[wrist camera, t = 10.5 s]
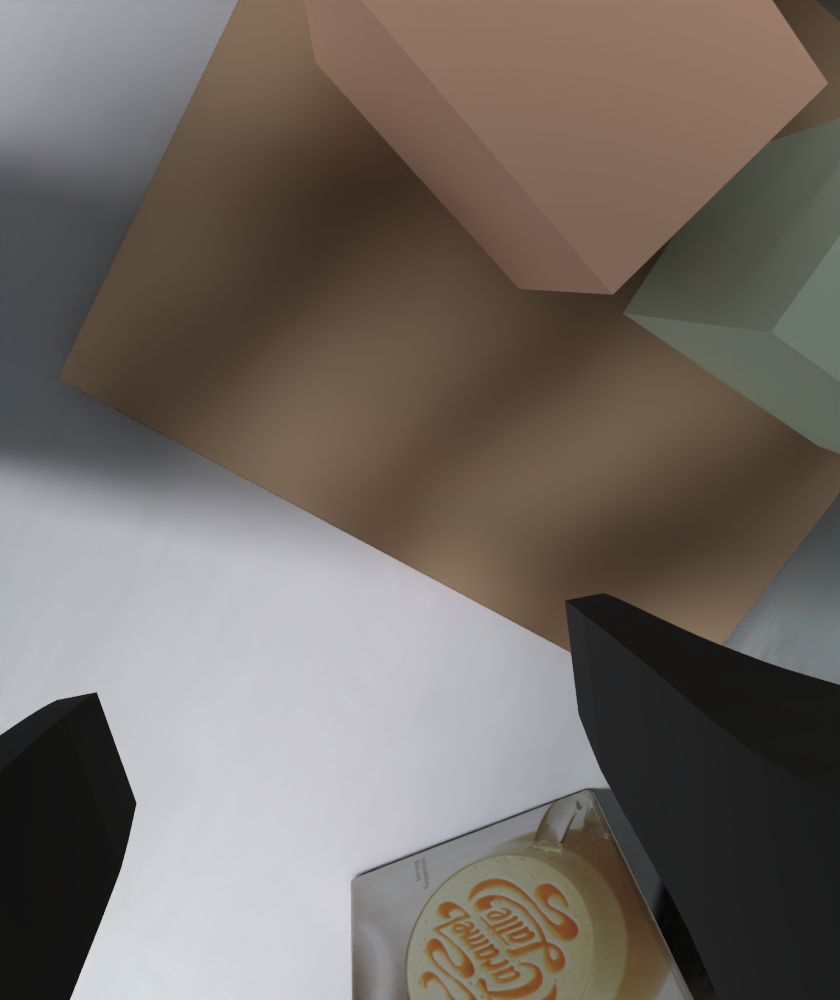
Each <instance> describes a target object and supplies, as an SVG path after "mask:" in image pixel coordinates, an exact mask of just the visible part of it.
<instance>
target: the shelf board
mask: <svg viewBox="0 0 840 1000" xmlns="http://www.w3.org/2000/svg"><path fill="white" fill-rule="evenodd" d="M772 1H773V2H774V3H775V5H776V6H777V8H778V9H779V11H780V12H781V14H782V15H783V17H784V18H785V20H786V21H787V23H788V24H789V26H790V27H791V29H792V30H793V32H794V33H795V35H796V36H797V38H798V39H799V41H800V42H801V44H802V45H803V47H804V48H805V50H806V51H807V53H808V54H809V55H810V57H811V58H812V60H813V61H814V63H815V64H816V66H817V67H818V69H819V70H820V72H821V73H822V75H823V76H824V78H825V79H826V81H827V82H828V84H827V85H826V86H825V87H824V88H823V89H822V90H821V91H820V92H819V93H818V94H817V95H816V96H815V97H814V98H813V99H812V100H811V101H810V102H809V103H808V104H807V105H806V106H805V107H804V108H803V109H802V110H801V111H800V112H799V113H798V114H797V115H796V116H795V117H794V118H792V119H791V120H790V121H789V122H788V123H787V124H786V125H785V126H784V127H783V128H782V129H781V130H780V131H779V132H778V133H777V134H776V135H775V136H774V137H773V138H772V139H771V140H770V141H769V142H771V141H774V140H777V139H780V138H783V137H786V136H789V135H792V134H795V133H798V132H801V131H804V130H807V129H810V128H813V127H816V126H819V125H822V124H825V123H828V122H831V121H834V120H837V119H840V0H772ZM673 236H674V235H673ZM673 236H672V237H673ZM672 237H671V238H670V239H669V240H668V241H667V242H666V243H665V244H664V245H663V246H662V247H661V248H660V249H659V250H658V251H657V252H656V253H655V254H654V255H653V256H652V257H651V258H650V259H649V260H648V261H647V262H646V263H645V264H644V265H643V266H642V267H640V268H639V269H638V270H637V271H636V272H635V273H634V274H633V275H632V276H631V277H630V278H629V279H628V280H627V281H626V282H625V283H624V284H623V285H622V286H621V287H620V288H619V289H618V290H617V291H616V292H615V293H614V294H613V295H610V294H594V293H578V292H562V291H545V290H529V289H519V288H518V287H517V286H516V285H515V284H514V283H513V282H512V281H511V279H510V278H509V277H508V276H507V275H506V274H505V273H504V272H503V271H502V269H501V268H500V267H499V266H498V265H497V264H496V263H495V262H494V261H493V259H492V258H491V257H490V256H489V255H488V254H487V253H486V252H485V251H484V249H483V248H482V247H481V246H480V245H479V244H478V243H477V242H476V241H475V239H474V238H473V237H472V236H471V235H470V234H469V233H468V232H467V230H466V229H465V228H464V227H463V226H462V225H461V224H460V223H459V222H458V220H457V219H456V218H455V217H454V216H453V215H452V214H451V213H450V212H449V210H448V209H447V208H446V207H445V206H444V205H443V204H442V203H441V202H440V200H439V199H438V198H437V197H436V196H435V195H434V194H433V193H432V192H431V190H430V189H429V188H428V187H427V186H426V185H425V184H424V183H423V182H422V180H421V179H420V178H419V177H418V176H417V175H416V174H415V173H414V171H413V170H412V169H411V168H410V167H409V166H408V165H407V164H406V163H405V161H404V160H403V159H402V158H401V157H400V156H399V155H398V154H397V153H396V151H395V150H394V149H393V148H392V147H391V146H390V145H389V144H388V143H387V141H386V140H385V139H384V138H383V137H382V136H381V135H380V134H379V133H378V131H377V130H376V129H375V128H374V127H373V126H372V125H371V124H370V123H369V121H368V120H367V119H366V118H365V117H364V116H363V115H362V114H361V112H360V111H359V110H358V109H357V108H356V107H355V106H354V105H353V104H352V102H351V101H350V100H349V99H348V98H347V97H346V96H345V95H344V94H343V92H342V91H341V90H340V89H339V88H338V87H337V86H336V85H335V84H334V82H333V81H332V80H331V79H330V78H329V77H328V76H327V75H326V74H325V72H324V71H323V70H322V69H321V68H320V67H319V66H318V65H317V64H316V62H315V57H314V51H313V46H312V41H311V35H310V30H309V24H308V19H307V13H306V8H305V3H304V0H238V2H237V4H236V6H235V8H234V10H233V13H232V15H231V17H230V19H229V21H228V23H227V25H226V27H225V29H224V31H223V33H222V36H221V38H220V40H219V42H218V44H217V46H216V48H215V50H214V52H213V54H212V56H211V58H210V61H209V63H208V65H207V67H206V69H205V71H204V73H203V75H202V77H201V79H200V81H199V84H198V86H197V88H196V90H195V92H194V94H193V96H192V98H191V100H190V102H189V104H188V106H187V109H186V111H185V113H184V115H183V117H182V119H181V121H180V123H179V125H178V127H177V129H176V132H175V134H174V136H173V138H172V140H171V142H170V144H169V146H168V148H167V150H166V152H165V154H164V157H163V159H162V161H161V163H160V165H159V167H158V169H157V171H156V173H155V175H154V177H153V180H152V182H151V184H150V186H149V188H148V190H147V192H146V194H145V196H144V198H143V200H142V202H141V205H140V207H139V209H138V211H137V213H136V215H135V217H134V219H133V221H132V223H131V225H130V228H129V230H128V232H127V234H126V236H125V238H124V240H123V242H122V244H121V246H120V248H119V250H118V253H117V255H116V257H115V259H114V261H113V263H112V265H111V267H110V269H109V271H108V273H107V276H106V278H105V280H104V282H103V284H102V286H101V288H100V290H99V292H98V294H97V296H96V299H95V301H94V303H93V305H92V307H91V309H90V311H89V313H88V315H87V317H86V319H85V321H84V324H83V326H82V328H81V330H80V332H79V334H78V336H77V338H76V340H75V342H74V344H73V347H72V349H71V351H70V353H69V355H68V357H67V359H66V361H65V363H64V365H63V367H62V369H61V372H60V374H59V376H58V379H60V380H62V381H63V382H65V383H67V384H69V385H71V386H73V387H75V388H77V389H78V390H80V391H82V392H84V393H86V394H88V395H90V396H92V397H93V398H95V399H97V400H99V401H101V402H103V403H105V404H107V405H108V406H110V407H112V408H114V409H116V410H118V411H120V412H121V413H123V414H125V415H127V416H129V417H131V418H133V419H135V420H136V421H138V422H140V423H142V424H144V425H146V426H148V427H150V428H151V429H153V430H155V431H157V432H159V433H161V434H163V435H165V436H166V437H168V438H170V439H172V440H174V441H176V442H178V443H180V444H181V445H183V446H185V447H187V448H189V449H191V450H193V451H194V452H196V453H198V454H200V455H202V456H204V457H206V458H208V459H209V460H211V461H213V462H215V463H217V464H219V465H221V466H223V467H224V468H226V469H228V470H230V471H232V472H234V473H236V474H238V475H239V476H241V477H243V478H245V479H247V480H249V481H251V482H253V483H254V484H256V485H258V486H260V487H262V488H264V489H266V490H268V491H269V492H271V493H273V494H275V495H277V496H279V497H281V498H282V499H284V500H286V501H288V502H290V503H292V504H294V505H296V506H297V507H299V508H301V509H303V510H305V511H307V512H309V513H311V514H312V515H314V516H316V517H318V518H320V519H322V520H324V521H326V522H327V523H329V524H331V525H333V526H335V527H337V528H339V529H341V530H342V531H344V532H346V533H348V534H350V535H352V536H354V537H355V538H357V539H359V540H361V541H363V542H365V543H367V544H369V545H370V546H372V547H374V548H376V549H378V550H380V551H382V552H384V553H385V554H387V555H389V556H391V557H393V558H395V559H397V560H399V561H400V562H402V563H404V564H406V565H408V566H410V567H412V568H414V569H415V570H417V571H419V572H421V573H423V574H425V575H427V576H429V577H430V578H432V579H434V580H436V581H438V582H440V583H442V584H443V585H445V586H447V587H449V588H451V589H453V590H455V591H457V592H458V593H460V594H462V595H464V596H466V597H468V598H470V599H472V600H473V601H475V602H477V603H479V604H481V605H483V606H485V607H487V608H488V609H490V610H492V611H494V612H496V613H498V614H500V615H502V616H503V617H505V618H507V619H509V620H511V621H513V622H515V623H516V624H518V625H520V626H522V627H524V628H526V629H528V630H530V631H531V632H533V633H535V634H537V635H539V636H541V637H543V638H545V639H546V640H548V641H550V642H552V643H554V644H556V645H558V646H560V647H561V648H563V649H565V650H567V651H569V652H571V647H570V639H569V631H568V623H567V615H566V607H565V600H570V599H575V598H580V597H585V596H590V595H596V594H601V593H606V594H608V595H611V596H613V597H616V598H618V599H620V600H623V601H625V602H627V603H629V604H631V605H633V606H635V607H638V608H640V609H642V610H644V611H646V612H648V613H650V614H652V615H654V616H656V617H659V618H661V619H663V620H665V621H667V622H669V623H671V624H674V625H676V626H678V627H680V628H682V629H685V630H687V631H689V632H691V633H693V634H696V635H698V636H700V637H703V638H705V639H707V640H710V641H712V642H715V643H717V644H719V645H723V644H724V642H725V641H726V640H727V639H728V637H729V636H730V635H731V633H732V632H733V631H734V629H735V628H736V627H737V626H738V624H739V623H740V622H741V620H742V619H743V618H744V617H745V615H746V614H747V613H748V611H749V610H750V609H751V607H752V606H753V605H754V604H755V602H756V601H757V600H758V598H759V597H760V596H761V594H762V593H763V592H764V591H765V589H766V588H767V587H768V585H769V584H770V583H771V582H772V580H773V579H774V578H775V576H776V575H777V574H778V572H779V571H780V570H781V569H782V567H783V566H784V565H785V563H786V562H787V561H788V560H789V558H790V557H791V556H792V554H793V553H794V552H795V550H796V549H797V548H798V547H799V545H800V544H801V543H802V541H803V540H804V539H805V537H806V536H807V535H808V534H809V532H810V531H811V530H812V528H813V527H814V526H815V525H816V523H817V522H818V521H819V519H820V518H821V517H822V515H823V514H824V513H825V512H826V510H827V509H828V508H829V506H830V505H831V504H832V502H833V501H834V500H835V499H836V497H837V496H838V495H839V493H840V454H839V453H836V452H833V451H831V450H828V449H825V448H822V447H819V446H817V445H816V444H814V443H813V442H811V441H810V440H809V439H807V438H806V437H804V436H803V435H801V434H800V433H798V432H797V431H795V430H794V429H792V428H791V427H789V426H788V425H786V424H785V423H783V422H782V421H781V420H779V419H778V418H776V417H775V416H773V415H772V414H770V413H769V412H767V411H766V410H764V409H763V408H761V407H760V406H758V405H757V404H756V403H754V402H753V401H751V400H750V399H748V398H747V397H745V396H744V395H742V394H741V393H739V392H738V391H736V390H735V389H733V388H732V387H730V386H729V385H728V384H726V383H725V382H723V381H722V380H720V379H719V378H717V377H716V376H714V375H713V374H711V373H710V372H708V371H707V370H705V369H704V368H703V367H701V366H700V365H698V364H697V363H695V362H694V361H692V360H691V359H689V358H688V357H686V356H685V355H683V354H682V353H680V352H679V351H677V350H676V349H675V348H673V347H672V346H670V345H669V344H667V343H666V342H664V341H663V340H661V339H660V338H658V337H657V336H655V335H654V334H652V333H651V332H649V331H648V330H647V329H645V328H644V327H642V326H641V325H639V324H638V323H636V322H635V321H633V320H632V319H630V318H629V317H627V316H626V315H624V314H623V312H624V311H625V309H626V308H627V306H628V305H629V303H630V302H631V300H632V299H633V297H634V295H635V294H636V292H637V291H638V289H639V288H640V286H641V285H642V283H643V282H644V280H645V279H646V277H647V276H648V274H649V273H650V271H651V269H652V268H653V266H654V265H655V263H656V262H657V260H658V259H659V257H660V256H661V254H662V253H663V251H664V250H665V248H666V247H667V245H668V244H669V242H670V240H671V239H672Z"/></svg>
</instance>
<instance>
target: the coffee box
mask: <svg viewBox="0 0 840 1000" xmlns="http://www.w3.org/2000/svg"><path fill="white" fill-rule="evenodd" d="M351 955H352V1000H694V999H693V997H692V995H691V993H690V991H689V989H688V987H687V985H686V983H685V981H684V979H683V977H682V975H681V973H680V970H679V968H678V966H677V964H676V962H675V960H674V958H673V956H672V954H671V952H670V950H669V948H668V945H667V943H666V941H665V939H664V937H663V935H662V933H661V931H660V928H659V926H658V924H657V922H656V920H655V918H654V916H653V914H652V912H651V910H650V908H649V906H648V904H647V902H646V900H645V898H644V896H643V894H642V892H641V890H640V888H639V886H638V884H637V882H636V879H635V877H634V875H633V873H632V871H631V869H630V867H629V865H628V863H627V861H626V859H625V857H624V855H623V853H622V851H621V849H620V847H619V844H618V842H617V840H616V838H615V836H614V834H613V832H612V830H611V828H610V826H609V824H608V822H607V819H606V817H605V815H604V813H603V811H602V808H601V806H600V804H599V802H598V800H597V798H596V796H595V794H594V793H593V792H592V791H591V790H584V791H582V792H579V793H576V794H573V795H570V796H568V797H565V798H562V799H560V800H557V801H555V802H552V803H550V804H547V805H545V806H542V807H539V808H537V809H534V810H532V811H529V812H526V813H524V814H521V815H518V816H516V817H513V818H510V819H508V820H505V821H502V822H500V823H497V824H494V825H492V826H489V827H487V828H484V829H482V830H479V831H476V832H474V833H471V834H468V835H466V836H463V837H460V838H458V839H455V840H452V841H450V842H447V843H445V844H442V845H439V846H437V847H434V848H431V849H429V850H426V851H424V852H421V853H418V854H416V855H413V856H411V857H408V858H405V859H403V860H400V861H398V862H395V863H392V864H390V865H387V866H385V867H382V868H379V869H377V870H374V871H372V872H369V873H366V874H363V875H361V876H358V877H356V878H354V879H353V880H352V881H351Z"/></svg>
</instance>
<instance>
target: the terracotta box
mask: <svg viewBox="0 0 840 1000" xmlns="http://www.w3.org/2000/svg"><path fill="white" fill-rule="evenodd" d="M304 3H305V8H306V13H307V19H308V24H309V30H310V35H311V41H312V46H313V51H314V57H315V62H316V64H317V65H318V66H319V67H320V68H321V69H322V70H323V71H324V72H325V74H326V75H327V76H328V77H329V78H330V79H331V80H332V81H333V82H334V84H335V85H336V86H337V87H338V88H339V89H340V90H341V91H342V92H343V94H344V95H345V96H346V97H347V98H348V99H349V100H350V101H351V102H352V104H353V105H354V106H355V107H356V108H357V109H358V110H359V111H360V112H361V114H362V115H363V116H364V117H365V118H366V119H367V120H368V121H369V123H370V124H371V125H372V126H373V127H374V128H375V129H376V130H377V131H378V133H379V134H380V135H381V136H382V137H383V138H384V139H385V140H386V141H387V143H388V144H389V145H390V146H391V147H392V148H393V149H394V150H395V151H396V153H397V154H398V155H399V156H400V157H401V158H402V159H403V160H404V161H405V163H406V164H407V165H408V166H409V167H410V168H411V169H412V170H413V171H414V173H415V174H416V175H417V176H418V177H419V178H420V179H421V180H422V182H423V183H424V184H425V185H426V186H427V187H428V188H429V189H430V190H431V192H432V193H433V194H434V195H435V196H436V197H437V198H438V199H439V200H440V202H441V203H442V204H443V205H444V206H445V207H446V208H447V209H448V210H449V212H450V213H451V214H452V215H453V216H454V217H455V218H456V219H457V220H458V222H459V223H460V224H461V225H462V226H463V227H464V228H465V229H466V230H467V232H468V233H469V234H470V235H471V236H472V237H473V238H474V239H475V241H476V242H477V243H478V244H479V245H480V246H481V247H482V248H483V249H484V251H485V252H486V253H487V254H488V255H489V256H490V257H491V258H492V259H493V261H494V262H495V263H496V264H497V265H498V266H499V267H500V268H501V269H502V271H503V272H504V273H505V274H506V275H507V276H508V277H509V278H510V279H511V281H512V282H513V283H514V284H515V285H516V286H517V287H518V288H519V289H529V290H545V291H562V292H578V293H594V294H610V295H613V294H614V293H615V292H616V291H617V290H618V289H619V288H620V287H621V286H622V285H623V284H624V283H625V282H626V281H627V280H628V279H629V278H630V277H631V276H632V275H633V274H634V273H635V272H636V271H637V270H638V269H639V268H640V267H642V266H643V265H644V264H645V263H646V262H647V261H648V260H649V259H650V258H651V257H652V256H653V255H654V254H655V253H656V252H657V251H658V250H659V249H660V248H661V247H662V246H663V245H664V244H665V243H666V242H667V241H668V240H669V239H670V238H671V237H672V236H673V235H674V234H675V233H676V232H677V231H678V230H679V229H680V228H681V227H682V226H683V225H684V224H685V223H686V222H687V221H688V220H689V219H690V218H691V217H693V216H694V215H695V214H696V213H697V212H698V211H699V210H700V209H701V208H702V207H703V206H704V205H705V204H706V203H707V202H708V201H709V200H710V199H711V198H712V197H713V196H714V195H715V194H716V193H717V192H718V191H719V190H720V189H721V188H722V187H723V186H724V185H725V184H726V183H727V182H728V181H729V180H730V179H731V178H732V177H733V176H734V175H735V174H736V173H737V172H738V171H739V170H740V169H741V168H742V167H744V166H745V165H746V164H747V163H748V162H749V161H750V160H751V159H752V158H753V157H754V156H755V155H756V154H757V153H758V152H759V151H760V150H761V149H762V148H763V147H764V146H765V145H766V144H767V143H768V142H769V141H770V140H771V139H772V138H773V137H774V136H775V135H776V134H777V133H778V132H779V131H780V130H781V129H782V128H783V127H784V126H785V125H786V124H787V123H788V122H789V121H790V120H791V119H792V118H794V117H795V116H796V115H797V114H798V113H799V112H800V111H801V110H802V109H803V108H804V107H805V106H806V105H807V104H808V103H809V102H810V101H811V100H812V99H813V98H814V97H815V96H816V95H817V94H818V93H819V92H820V91H821V90H822V89H823V88H824V87H825V86H826V85H827V84H828V82H827V81H826V79H825V78H824V76H823V75H822V73H821V72H820V70H819V69H818V67H817V66H816V64H815V63H814V61H813V60H812V58H811V57H810V55H809V54H808V53H807V51H806V50H805V48H804V47H803V45H802V44H801V42H800V41H799V39H798V38H797V36H796V35H795V33H794V32H793V30H792V29H791V27H790V26H789V24H788V23H787V21H786V20H785V18H784V17H783V15H782V14H781V12H780V11H779V9H778V8H777V6H776V5H775V3H774V2H773V1H772V0H304Z"/></svg>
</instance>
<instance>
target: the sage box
mask: <svg viewBox="0 0 840 1000" xmlns="http://www.w3.org/2000/svg"><path fill="white" fill-rule="evenodd" d="M623 314H624V315H626V316H627V317H629V318H630V319H632V320H633V321H635V322H636V323H638V324H639V325H641V326H642V327H644V328H645V329H647V330H648V331H649V332H651V333H652V334H654V335H655V336H657V337H658V338H660V339H661V340H663V341H664V342H666V343H667V344H669V345H670V346H672V347H673V348H675V349H676V350H677V351H679V352H680V353H682V354H683V355H685V356H686V357H688V358H689V359H691V360H692V361H694V362H695V363H697V364H698V365H700V366H701V367H703V368H704V369H705V370H707V371H708V372H710V373H711V374H713V375H714V376H716V377H717V378H719V379H720V380H722V381H723V382H725V383H726V384H728V385H729V386H730V387H732V388H733V389H735V390H736V391H738V392H739V393H741V394H742V395H744V396H745V397H747V398H748V399H750V400H751V401H753V402H754V403H756V404H757V405H758V406H760V407H761V408H763V409H764V410H766V411H767V412H769V413H770V414H772V415H773V416H775V417H776V418H778V419H779V420H781V421H782V422H783V423H785V424H786V425H788V426H789V427H791V428H792V429H794V430H795V431H797V432H798V433H800V434H801V435H803V436H804V437H806V438H807V439H809V440H810V441H811V442H813V443H814V444H816V445H817V446H819V447H822V448H825V449H828V450H831V451H833V452H836V453H839V454H840V119H837V120H834V121H831V122H828V123H825V124H822V125H819V126H816V127H813V128H810V129H807V130H804V131H801V132H798V133H795V134H792V135H789V136H786V137H783V138H780V139H777V140H774V141H771V142H768V143H767V144H766V145H765V146H764V147H763V148H762V149H761V150H760V151H759V152H758V153H757V154H756V155H755V156H754V157H753V158H752V159H751V160H750V161H749V162H748V163H747V164H746V165H745V166H744V167H742V168H741V169H740V170H739V171H738V172H737V173H736V174H735V175H734V176H733V177H732V178H731V179H730V180H729V181H728V182H727V183H726V184H725V185H724V186H723V187H722V188H721V189H720V190H719V191H718V192H717V193H716V194H715V195H714V196H713V197H712V198H711V199H710V200H709V201H708V202H707V203H706V204H705V205H704V206H703V207H702V208H701V209H700V210H699V211H698V212H697V213H696V214H695V215H694V216H693V217H691V218H690V219H689V220H688V221H687V222H686V223H685V224H684V225H683V226H682V227H681V228H680V229H679V230H678V231H677V232H676V233H675V234H674V236H673V237H672V239H671V240H670V242H669V244H668V245H667V247H666V248H665V250H664V251H663V253H662V254H661V256H660V257H659V259H658V260H657V262H656V263H655V265H654V266H653V268H652V269H651V271H650V273H649V274H648V276H647V277H646V279H645V280H644V282H643V283H642V285H641V286H640V288H639V289H638V291H637V292H636V294H635V295H634V297H633V299H632V300H631V302H630V303H629V305H628V306H627V308H626V309H625V311H624V312H623Z"/></svg>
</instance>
